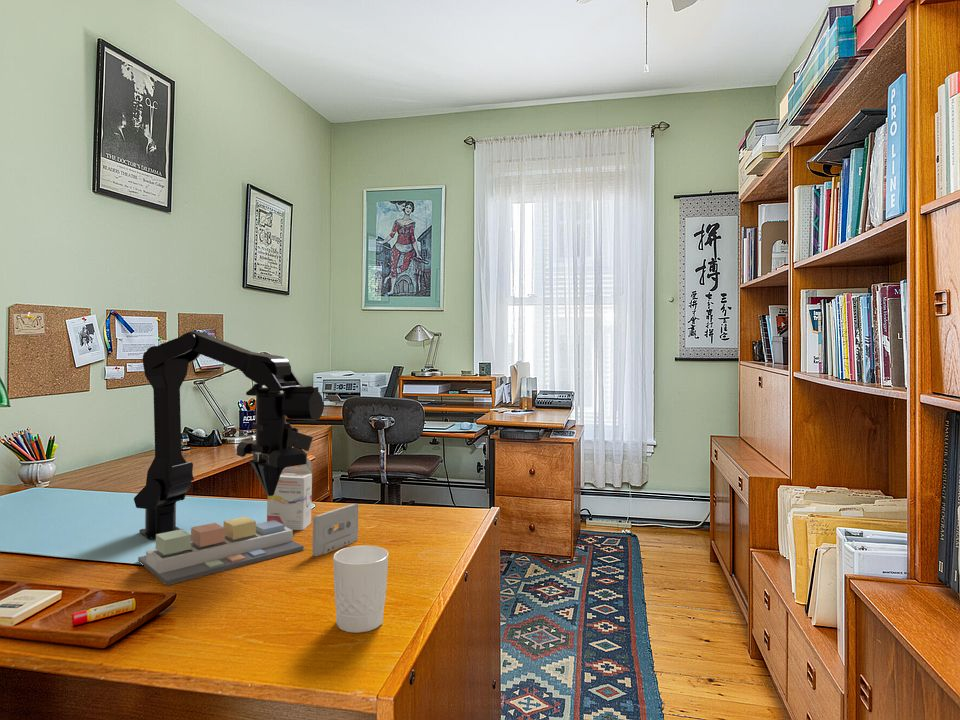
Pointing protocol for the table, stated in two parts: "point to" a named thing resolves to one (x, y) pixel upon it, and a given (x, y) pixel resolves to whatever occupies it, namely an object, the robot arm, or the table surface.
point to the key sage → (173, 541)
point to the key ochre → (240, 527)
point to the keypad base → (218, 556)
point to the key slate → (269, 527)
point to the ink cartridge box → (292, 498)
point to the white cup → (360, 587)
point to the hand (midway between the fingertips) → (270, 495)
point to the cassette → (334, 539)
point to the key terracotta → (207, 534)
